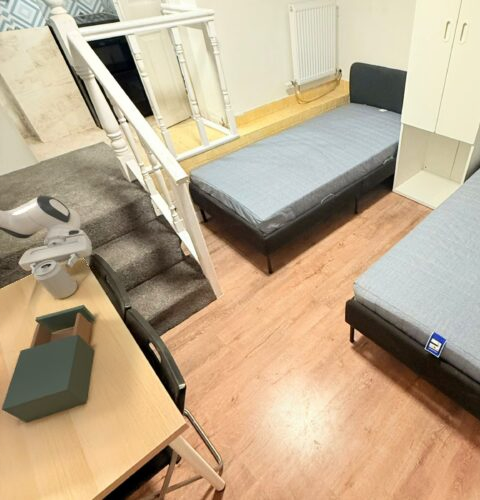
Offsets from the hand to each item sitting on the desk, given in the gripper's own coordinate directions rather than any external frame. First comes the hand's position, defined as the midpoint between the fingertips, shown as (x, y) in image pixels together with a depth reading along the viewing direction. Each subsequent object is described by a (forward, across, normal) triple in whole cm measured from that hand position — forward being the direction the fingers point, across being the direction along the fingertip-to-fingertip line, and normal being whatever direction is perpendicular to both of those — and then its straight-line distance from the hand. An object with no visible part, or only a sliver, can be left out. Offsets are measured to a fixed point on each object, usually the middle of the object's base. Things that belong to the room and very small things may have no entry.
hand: (52, 270), depth 107 cm
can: (+2, 0, +8) cm, 9 cm away
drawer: (+25, +5, +7) cm, 26 cm away
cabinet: (+37, +5, +8) cm, 38 cm away
